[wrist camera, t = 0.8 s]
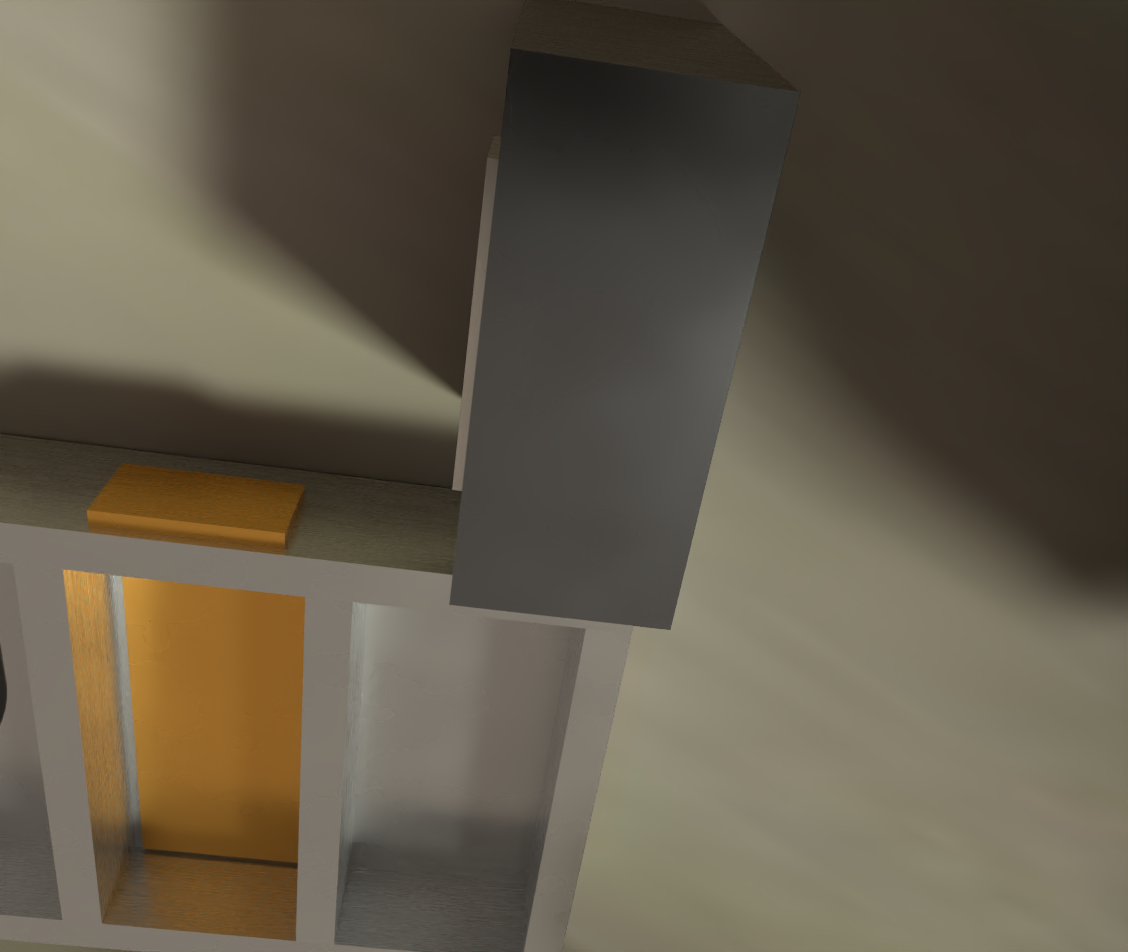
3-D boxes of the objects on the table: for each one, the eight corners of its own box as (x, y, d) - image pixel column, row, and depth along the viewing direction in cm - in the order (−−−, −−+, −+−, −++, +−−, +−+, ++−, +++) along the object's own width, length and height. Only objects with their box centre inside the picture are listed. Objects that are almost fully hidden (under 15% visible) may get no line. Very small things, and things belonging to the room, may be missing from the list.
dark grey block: (721, 24, 16) (801, 92, 11) (640, 429, 19) (670, 629, 14) (517, -8, 16) (495, 46, 11) (471, 407, 19) (437, 603, 14)
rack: (633, 496, 20) (643, 582, 18) (554, 881, 25) (553, 987, 23) (-197, 395, 19) (-309, 470, 16) (-97, 820, 24) (-171, 924, 22)
